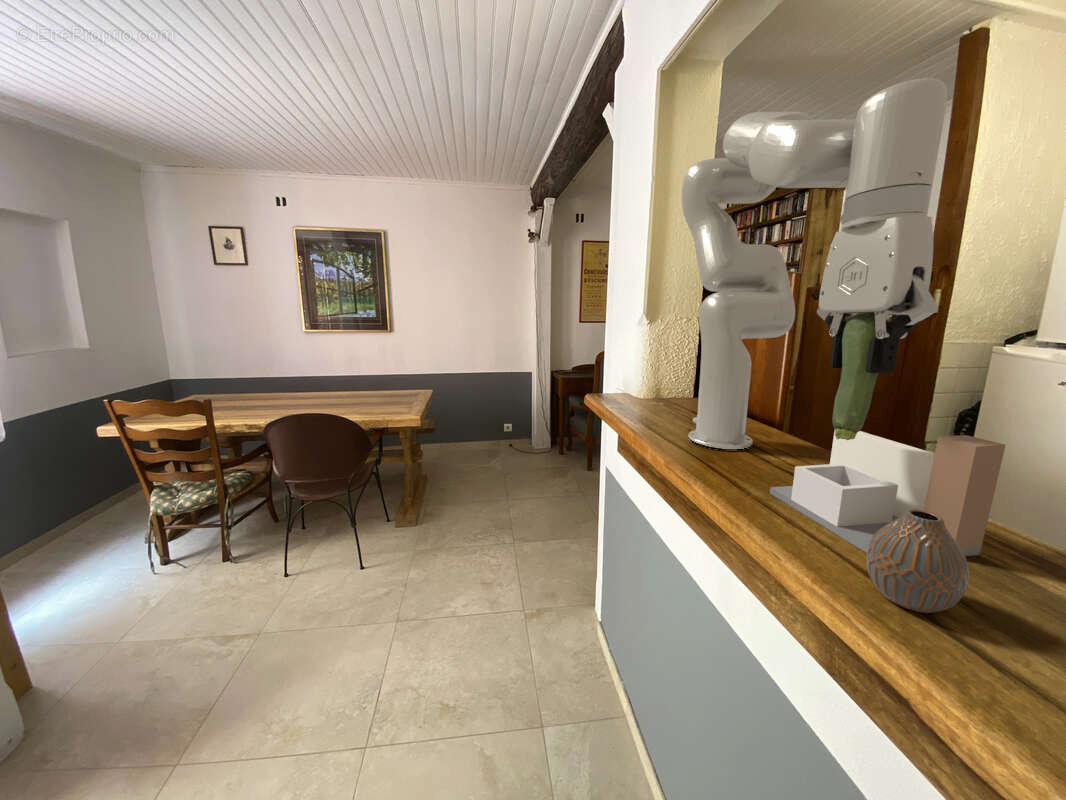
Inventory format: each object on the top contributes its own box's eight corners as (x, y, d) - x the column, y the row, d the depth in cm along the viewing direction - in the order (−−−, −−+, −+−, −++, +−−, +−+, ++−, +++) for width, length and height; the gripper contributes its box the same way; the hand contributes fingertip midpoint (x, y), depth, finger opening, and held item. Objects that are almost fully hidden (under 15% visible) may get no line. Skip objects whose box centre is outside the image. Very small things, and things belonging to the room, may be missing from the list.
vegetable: (832, 433, 54) (853, 281, 50) (873, 439, 51) (899, 278, 47) (825, 440, 51) (847, 279, 47) (868, 447, 48) (896, 276, 44)
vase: (925, 633, 34) (945, 540, 32) (844, 582, 41) (857, 503, 39) (979, 616, 36) (1001, 527, 34) (893, 570, 42) (908, 494, 41)
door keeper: (769, 493, 61) (779, 411, 58) (840, 488, 62) (852, 407, 60) (884, 564, 43) (905, 450, 41) (979, 554, 45) (1005, 444, 42)
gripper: (797, 228, 54) (782, 363, 57) (935, 188, 37) (902, 381, 41) (847, 228, 54) (830, 362, 58) (1004, 190, 38) (965, 378, 42)
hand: (860, 368), depth 49 cm, fingers closed on vegetable, 4 cm apart
